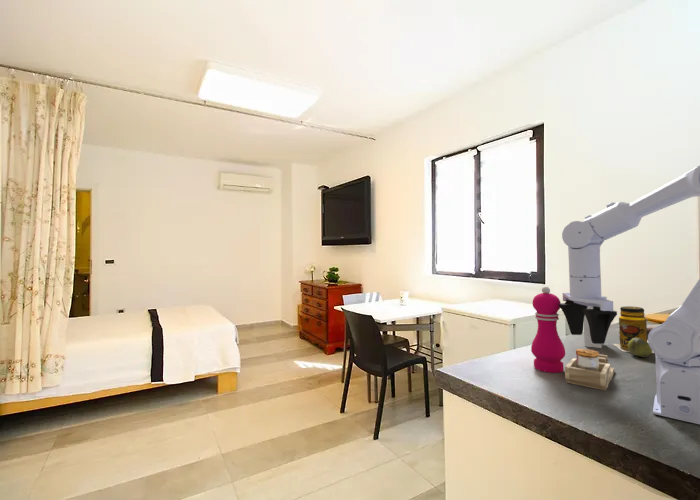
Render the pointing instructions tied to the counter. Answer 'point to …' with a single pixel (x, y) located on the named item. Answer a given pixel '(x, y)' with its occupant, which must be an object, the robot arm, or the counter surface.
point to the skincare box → (587, 334)
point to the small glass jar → (587, 359)
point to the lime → (639, 347)
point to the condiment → (631, 326)
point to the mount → (590, 374)
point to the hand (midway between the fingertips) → (586, 338)
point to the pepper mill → (547, 334)
